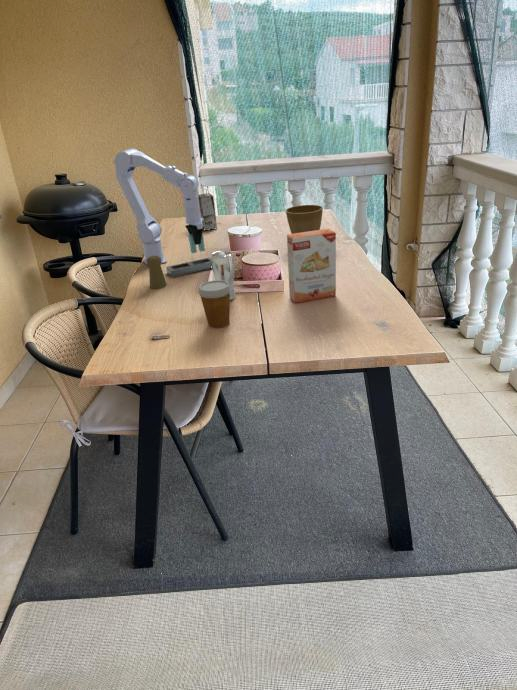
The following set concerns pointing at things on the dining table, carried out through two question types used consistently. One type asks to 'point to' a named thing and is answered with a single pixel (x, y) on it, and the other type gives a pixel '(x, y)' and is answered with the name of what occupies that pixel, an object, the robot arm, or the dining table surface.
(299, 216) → the plant pot
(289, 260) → the cracker box
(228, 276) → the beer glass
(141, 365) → the dining table surface
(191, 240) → the clip
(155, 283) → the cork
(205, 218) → the coffee box
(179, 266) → the grey compartment tray
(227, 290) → the disposable coffee cup
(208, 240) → the dining table surface
